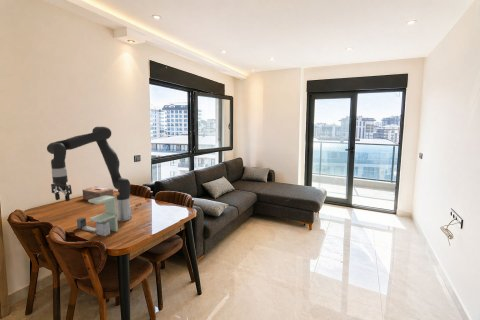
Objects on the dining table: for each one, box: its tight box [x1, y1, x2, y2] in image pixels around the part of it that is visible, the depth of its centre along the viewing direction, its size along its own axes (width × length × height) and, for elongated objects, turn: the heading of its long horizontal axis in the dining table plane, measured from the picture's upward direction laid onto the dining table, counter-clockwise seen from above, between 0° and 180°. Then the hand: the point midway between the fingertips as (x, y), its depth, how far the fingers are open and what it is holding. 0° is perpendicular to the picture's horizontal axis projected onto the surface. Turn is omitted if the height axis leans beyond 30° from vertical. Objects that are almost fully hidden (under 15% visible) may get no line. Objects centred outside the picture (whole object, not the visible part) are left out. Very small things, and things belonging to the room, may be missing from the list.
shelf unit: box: [87, 195, 119, 232], centre depth 172 cm, size 13×10×25 cm
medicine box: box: [95, 220, 111, 237], centre depth 172 cm, size 8×4×9 cm, turn 68°
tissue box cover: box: [82, 186, 114, 201], centre depth 251 cm, size 26×14×10 cm, turn 65°
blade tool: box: [76, 217, 97, 234], centre depth 179 cm, size 4×18×7 cm, turn 64°
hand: (62, 200), depth 156 cm, fingers open, 8 cm apart
